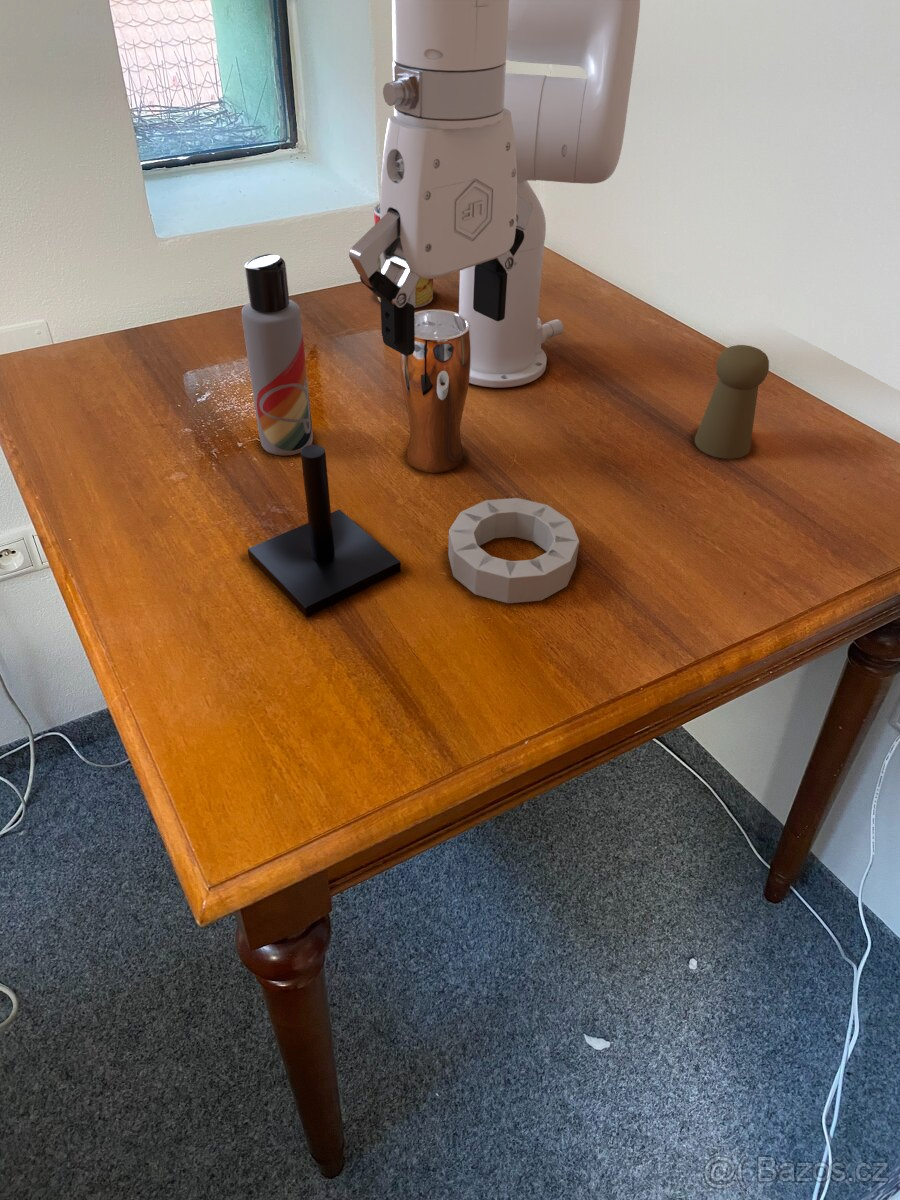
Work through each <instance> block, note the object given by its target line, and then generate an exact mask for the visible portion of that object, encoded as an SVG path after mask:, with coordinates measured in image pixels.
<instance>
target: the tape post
mask: <svg viewBox="0 0 900 1200" xmlns="http://www.w3.org/2000/svg"><path fill="white" fill-rule="evenodd" d="M326 455H327V454H326V448H324V447H323V446H322V445H318V444H311V445H309V446H306V447H304V448H303V449H302V450H301V453H300V458H301V459H300V460H301V467H302V476H303V485H304V494H305V502H306V503H305V505H306V513H307V520H308V522H307V523H303V524H301V525H299V526H297V527H295V528H292V529H289V530H288V531H285V532H283V533H281V534H279V535H277V536H276V535H275V536H274V537H272V538H271V537H270V538H269V539H267V540H264V541H262V542H260V543H258V544H255V545H252V546H250V547H248V548H247V555H248V559H249V560H250V561H251V562H252V563H253V564H254V566H256V568H258V569H259V570H260V571H261V572H262V573H263V574H264V575H265V576H266V578H268V580H269V581H270V582H271V583H272V584H273V585H274V586H275V587H276V588H277V589H278V590H279V591H280V592H281V593H282V594H283V595H284V596H285V597H286V598H287V599H288V600H289V601H290V602H291V603H292V604H293V605H294V606H295V607H296V609H298V610H299V611H300V612H301V613H302V614H303V616H305V618H309V617H311V616H313V615H315V614H317V613H319V612H321V611H323V610H325V609H327V608H329V607H331V606H334V605H335V604H338V603H340V602H341V601H344V600H345V599H347V598H349V597H351V596H354V595H357V594H358V593H360V592H362V591H364V590H366V589H368V588H371V587H372V586H374V585H376V584H378V583H381V582H382V581H385V580H387V579H388V578H390V577H393V576H395V575H397V574H399V573H401V572H402V568H401V567H402V566H401V560H399V559H398V558H397V557H396V556H395V555H394V554H393V553H391V551H389V550H387V548H385V546H383V545H382V544H381V543H380V542H378V541H377V540H376V539H375V538H374V537H372V535H370V534H369V533H368V532H366V530H364V529H363V528H362V527H361V526H360V525H359V524H357V523H356V522H355V521H354V520H352V519H351V518H350V517H349V516H348V515H347V514H346V513H345V512H343V510H341V509H340V508H339V509H337V510H334V511H332V510H331V500H330V499H331V498H330V489H329V487H330V486H329V478H328V466H327V456H326ZM331 511H332V512H331Z"/></svg>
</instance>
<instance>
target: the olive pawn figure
mask: <svg viewBox="0 0 900 1200" xmlns="http://www.w3.org/2000/svg"><path fill="white" fill-rule="evenodd" d="M715 370H716V372H715V373H716V375H717V382H716V384H715V386H714V389H713V391H712V394H711V396H710V399H709V401H708V404H707V407H706V408H705V411H704V414H703V415H702V419H701V421H700V424H699V426H698V429H697V431H696V434H695V436H694V444H695V446H696V448H698V450H700V451H701V452H703V453H705V454H706V455H708V456H711V457H715V458H717V459H718V458H719V459H723V460H725V459H726V460H731V459H733V460H735V459H739V458H743V457H745V456H746V455H748V454H749V452H750V451H751V445H752V438H753V437H752V436H753V430H754V421H755V416H756V407H757V401H758V392H759V386H760V385H761V384H762V383H763V382H764V381H765V380H766V378H767V376H768V375H769V370H770V360H769V358H768V356H767V354H766V352H764V351H763V350H761V349H760V348H757V347H755V346H752V345H746V344H736V345H731V346H728V347H726V348H725V349H724V350H723V351H722V352H721V353H720V354H719V356H718V358H717V361H716V365H715Z"/></svg>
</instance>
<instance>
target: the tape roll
mask: <svg viewBox="0 0 900 1200" xmlns="http://www.w3.org/2000/svg"><path fill="white" fill-rule="evenodd" d="M502 538H505V539H506V538H517V539H520V540H521V539H522V540H524V541H529V542H532V543H534V544H536V545H537V546H539V547H540V548H541V549H542V550H544V551H545V552H544V553H542V554H541V555H539V556H537V557H535V558H533V559H522V560H508V559H504V558H500V557H496V556H493V555H490V554H489V553H487V552H486V551H485V550H484V549H483V548H481V546H483V545H484V544H486V543H488V542H491V541H492V540H494V539H502ZM579 546H580V539H579V537H578V535H577V531H576V530H575V527H574V525H573V523H572V521H571V520H570V519H569V518H567V517H566V516H565V515H563V514H562V513H561V512H559V511H557V510H556V509H554V508H553V507H551V506H550V505H548V504H546V503H541V502H537V501H533V500H529V499H524V498H519V497H509V498H498V499H486V500H483V501H481V502H478V503H477V504H474V505H473V506H470V507H469V508H466V509H464V510H462V511H460V512H459V514H458V516H457V517H456V519H455V520H454V522H453V523H452V525H451V526H450V528H449V530H448V549H447V551H448V553H447V554H448V559H449V560H448V561H449V565H450V568H451V573H452V577H453V578H454V579H455V580H457V581H458V582H460V584H461V585H463V586H464V587H465V588H466V589H467V590H469V591H470V592H471V593H472V594H474V595H476V596H479V597H482V598H487V599H489V600H494V601H497V602H500V603H501V602H502V603H505V604H518V603H530V602H539V601H543V600H545V599H547V598H549V597H550V596H552V595H554V594H556V593H557V592H559V591H561V590H563V589H564V588H567V586H568V584H569V582H570V580H571V578H572V576H573V574H574V571H575V569H576V568H577V567H576V566H577V559H578V554H579Z"/></svg>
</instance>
